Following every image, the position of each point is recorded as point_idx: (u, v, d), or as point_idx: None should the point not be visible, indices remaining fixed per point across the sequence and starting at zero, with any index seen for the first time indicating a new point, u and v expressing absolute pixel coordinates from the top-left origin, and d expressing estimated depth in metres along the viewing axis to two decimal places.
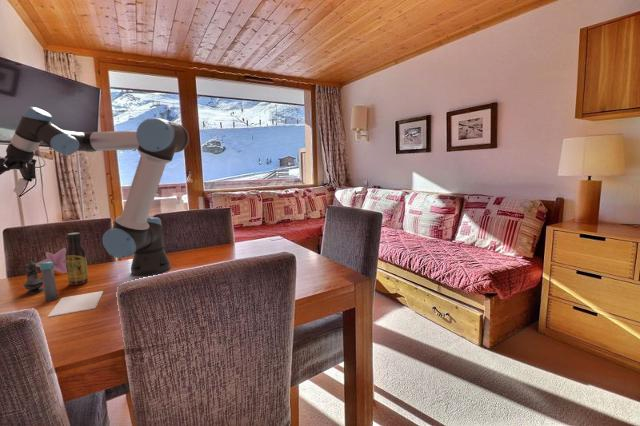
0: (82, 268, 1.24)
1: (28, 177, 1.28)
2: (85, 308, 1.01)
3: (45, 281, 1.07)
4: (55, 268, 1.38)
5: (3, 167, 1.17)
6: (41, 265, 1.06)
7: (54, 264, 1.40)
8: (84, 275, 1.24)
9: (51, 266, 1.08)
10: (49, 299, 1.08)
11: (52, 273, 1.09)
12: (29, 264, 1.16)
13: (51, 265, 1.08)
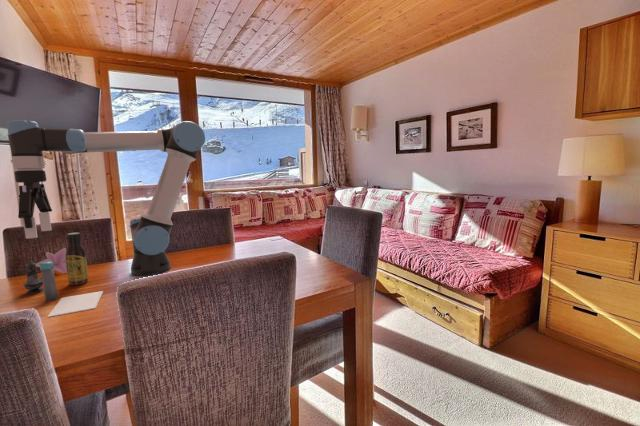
0: (82, 268, 1.24)
1: (47, 207, 1.12)
2: (85, 308, 1.01)
3: (45, 281, 1.07)
4: (55, 268, 1.38)
5: (30, 197, 1.02)
6: (41, 265, 1.06)
7: (54, 264, 1.40)
8: (84, 275, 1.24)
9: (51, 266, 1.08)
10: (49, 299, 1.08)
11: (52, 273, 1.09)
12: (29, 264, 1.16)
13: (51, 265, 1.08)
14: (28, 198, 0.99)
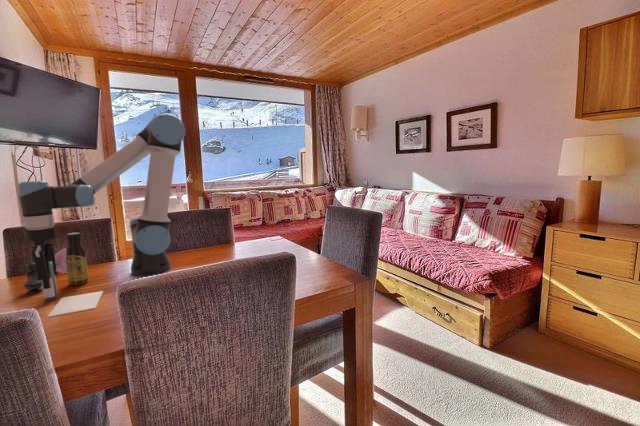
0: (82, 268, 1.24)
1: (53, 268, 1.11)
2: (85, 308, 1.01)
3: None
4: (56, 268, 1.38)
5: None
6: None
7: None
8: (84, 275, 1.24)
9: (51, 266, 1.08)
10: (49, 299, 1.08)
11: (52, 273, 1.09)
12: (29, 264, 1.16)
13: (51, 265, 1.08)
14: (43, 263, 1.03)
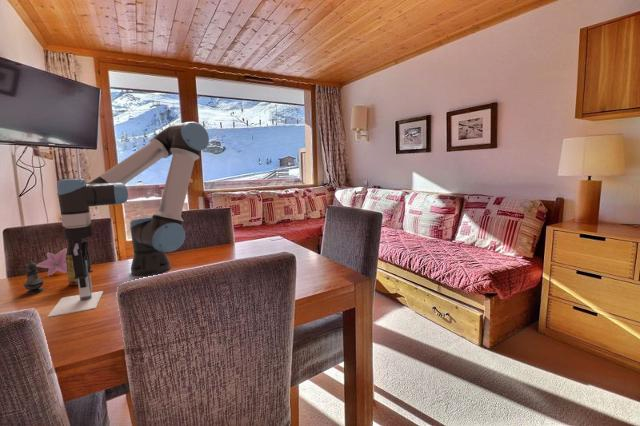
0: None
1: (89, 267, 1.10)
2: (85, 308, 1.01)
3: None
4: (57, 268, 1.38)
5: None
6: None
7: (55, 264, 1.39)
8: None
9: (87, 264, 1.08)
10: (86, 298, 1.07)
11: (87, 271, 1.08)
12: (29, 264, 1.16)
13: None
14: (81, 261, 1.02)
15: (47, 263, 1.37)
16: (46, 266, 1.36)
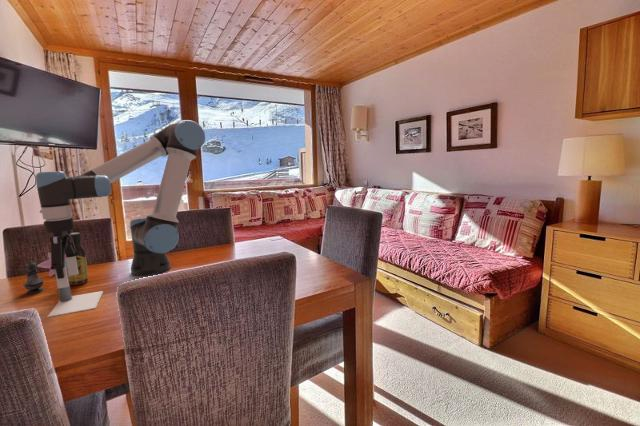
0: (82, 268, 1.24)
1: (74, 252, 1.14)
2: (85, 308, 1.01)
3: None
4: None
5: None
6: None
7: None
8: (84, 275, 1.24)
9: (65, 265, 1.08)
10: (68, 298, 1.08)
11: None
12: (29, 264, 1.16)
13: None
14: (59, 249, 1.00)
15: (48, 263, 1.36)
16: (47, 267, 1.35)
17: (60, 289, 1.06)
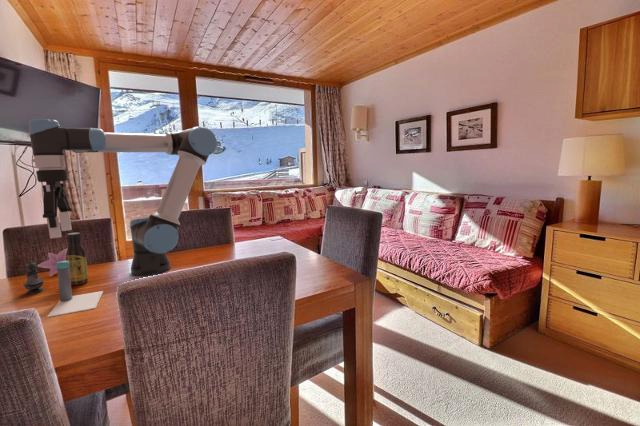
0: (82, 268, 1.24)
1: (67, 207, 1.12)
2: (85, 308, 1.01)
3: (65, 280, 1.07)
4: None
5: None
6: (63, 264, 1.06)
7: None
8: (84, 275, 1.24)
9: None
10: (68, 298, 1.08)
11: None
12: (29, 264, 1.16)
13: None
14: (52, 197, 0.98)
15: (48, 264, 1.36)
16: (47, 267, 1.35)
17: (61, 288, 1.06)
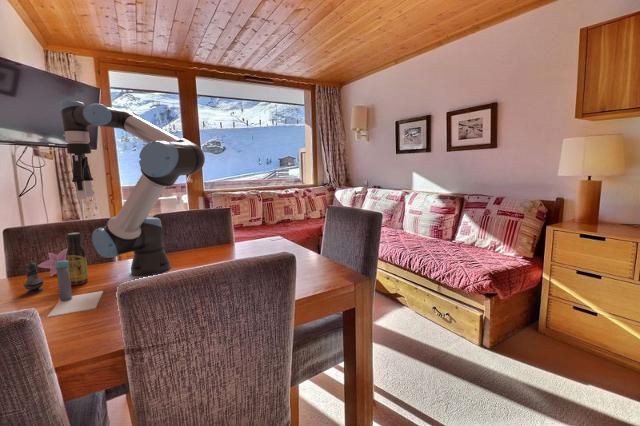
0: (82, 268, 1.24)
1: (90, 176, 1.33)
2: (85, 308, 1.01)
3: (64, 279, 1.07)
4: None
5: None
6: (61, 262, 1.07)
7: None
8: (84, 275, 1.24)
9: None
10: (68, 297, 1.08)
11: (68, 271, 1.09)
12: (29, 264, 1.16)
13: None
14: (80, 165, 1.19)
15: (48, 264, 1.36)
16: (47, 267, 1.35)
17: (60, 288, 1.07)
